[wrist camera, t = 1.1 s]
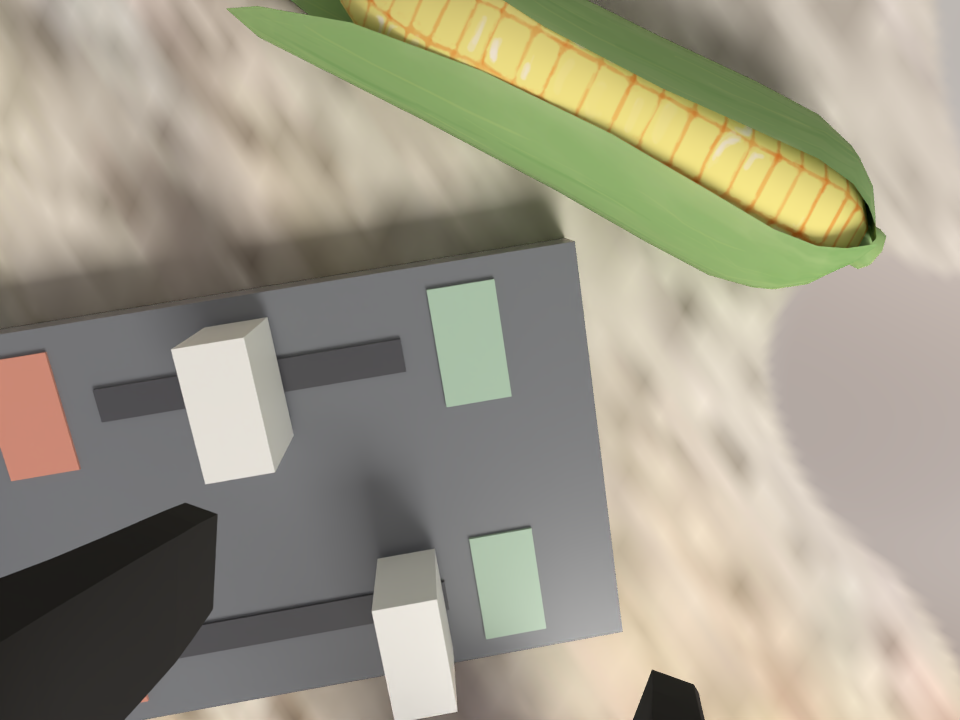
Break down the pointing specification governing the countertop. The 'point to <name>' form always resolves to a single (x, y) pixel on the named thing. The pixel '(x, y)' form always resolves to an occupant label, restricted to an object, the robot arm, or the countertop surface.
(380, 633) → the block
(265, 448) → the block
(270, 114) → the countertop surface
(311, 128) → the countertop surface
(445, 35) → the edible corn
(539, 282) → the breaker panel
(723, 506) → the countertop surface
